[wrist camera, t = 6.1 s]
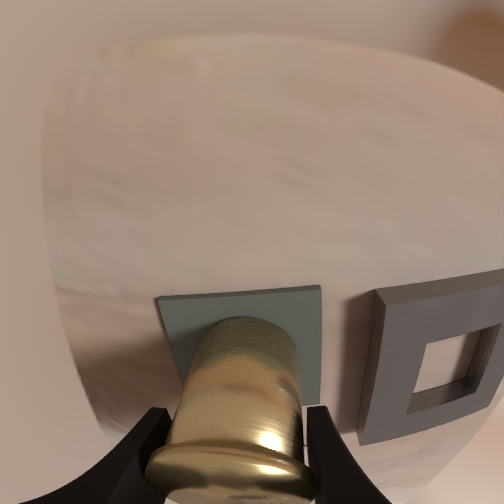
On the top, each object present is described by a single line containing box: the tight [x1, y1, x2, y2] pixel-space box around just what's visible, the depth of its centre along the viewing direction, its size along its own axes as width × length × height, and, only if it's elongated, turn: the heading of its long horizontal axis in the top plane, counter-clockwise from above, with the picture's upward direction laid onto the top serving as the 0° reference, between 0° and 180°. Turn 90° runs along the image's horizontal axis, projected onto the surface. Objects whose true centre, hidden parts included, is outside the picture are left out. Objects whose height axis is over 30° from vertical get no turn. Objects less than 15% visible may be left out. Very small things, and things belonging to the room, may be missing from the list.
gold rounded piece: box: [145, 317, 316, 504], centre depth 10 cm, size 5×5×7 cm
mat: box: [158, 285, 322, 406], centre depth 13 cm, size 7×7×1 cm
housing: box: [356, 269, 504, 446], centre depth 13 cm, size 10×10×2 cm
